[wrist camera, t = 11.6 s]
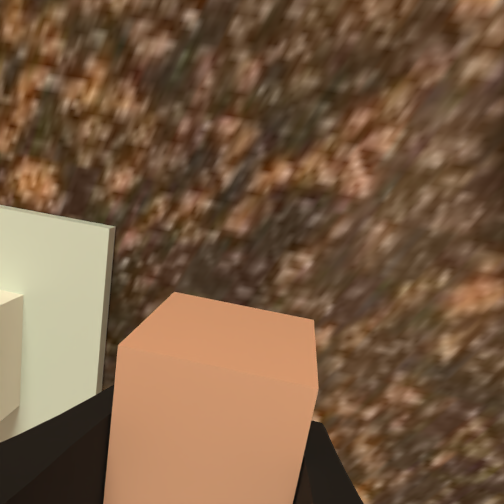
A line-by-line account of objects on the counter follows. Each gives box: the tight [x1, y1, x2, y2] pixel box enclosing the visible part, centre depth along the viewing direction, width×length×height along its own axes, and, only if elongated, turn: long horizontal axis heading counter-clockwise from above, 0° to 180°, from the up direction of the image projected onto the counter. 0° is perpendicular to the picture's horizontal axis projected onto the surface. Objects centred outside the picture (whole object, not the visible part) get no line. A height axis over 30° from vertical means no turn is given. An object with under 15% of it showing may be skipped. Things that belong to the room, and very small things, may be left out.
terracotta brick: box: [103, 292, 318, 504], centre depth 10 cm, size 6×4×4 cm, turn 171°
